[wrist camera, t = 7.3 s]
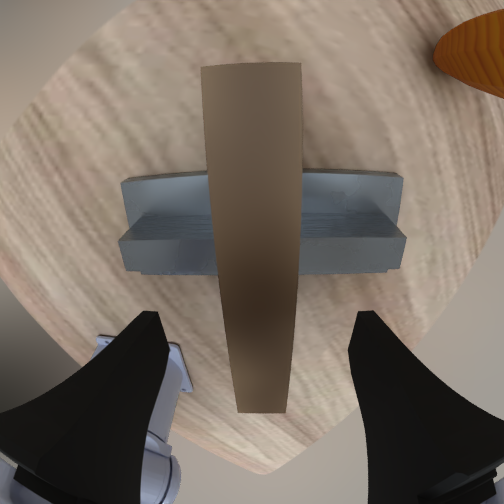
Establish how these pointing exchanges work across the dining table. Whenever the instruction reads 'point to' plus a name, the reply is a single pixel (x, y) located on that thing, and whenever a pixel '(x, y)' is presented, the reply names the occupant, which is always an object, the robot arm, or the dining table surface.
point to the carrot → (475, 53)
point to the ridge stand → (312, 223)
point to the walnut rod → (256, 219)
